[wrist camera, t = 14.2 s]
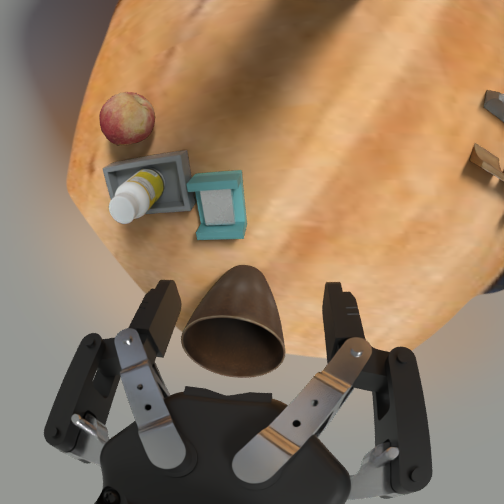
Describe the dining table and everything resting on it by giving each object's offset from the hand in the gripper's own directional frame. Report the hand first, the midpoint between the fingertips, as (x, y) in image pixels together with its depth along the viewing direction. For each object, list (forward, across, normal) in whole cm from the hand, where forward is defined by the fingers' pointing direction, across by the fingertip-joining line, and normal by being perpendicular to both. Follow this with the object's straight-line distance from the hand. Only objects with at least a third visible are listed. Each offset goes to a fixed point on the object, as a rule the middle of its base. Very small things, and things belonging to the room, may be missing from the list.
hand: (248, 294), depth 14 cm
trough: (+28, +19, +3) cm, 33 cm away
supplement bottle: (+27, +18, +3) cm, 33 cm away
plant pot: (+28, +5, +22) cm, 36 cm away
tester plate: (+25, +7, +6) cm, 27 cm away
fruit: (+28, +18, -8) cm, 35 cm away
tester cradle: (+28, +8, +6) cm, 29 cm away
